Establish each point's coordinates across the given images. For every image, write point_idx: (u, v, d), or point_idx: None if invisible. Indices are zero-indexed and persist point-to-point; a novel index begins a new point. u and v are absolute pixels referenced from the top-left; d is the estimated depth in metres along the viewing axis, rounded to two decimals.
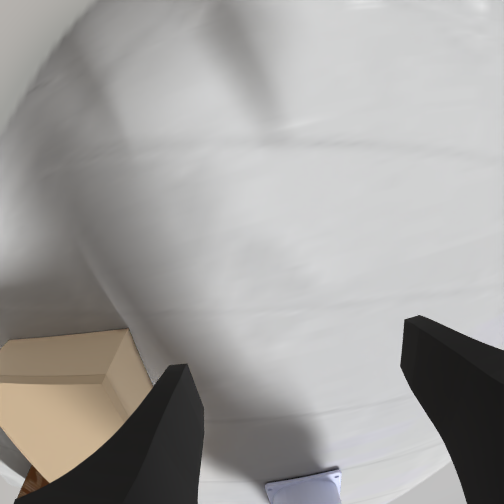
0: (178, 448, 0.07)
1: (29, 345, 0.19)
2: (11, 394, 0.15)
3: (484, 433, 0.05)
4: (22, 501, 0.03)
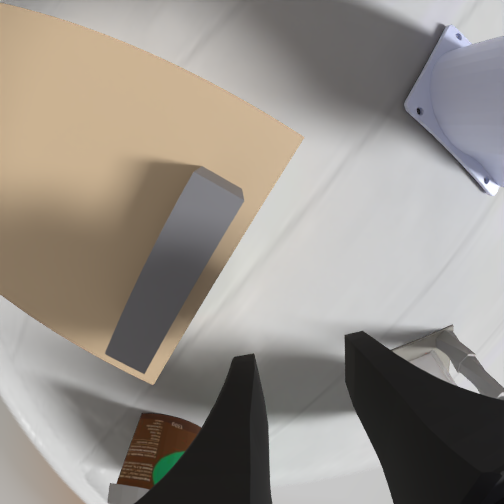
0: (259, 440, 0.07)
1: None
2: None
3: (410, 468, 0.05)
4: None
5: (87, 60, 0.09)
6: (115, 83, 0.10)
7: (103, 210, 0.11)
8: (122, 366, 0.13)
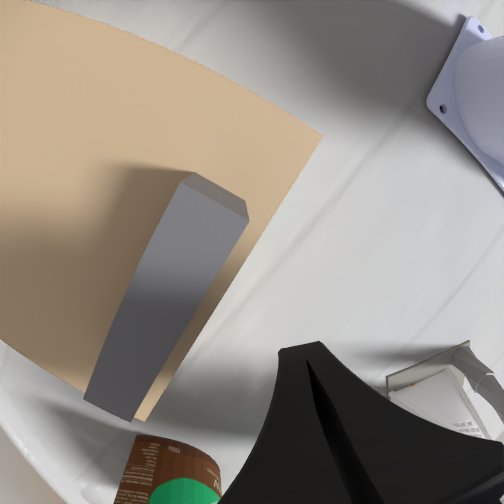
0: None
1: None
2: None
3: (349, 487, 0.05)
4: None
5: (58, 46, 0.07)
6: (89, 71, 0.07)
7: (76, 228, 0.09)
8: None
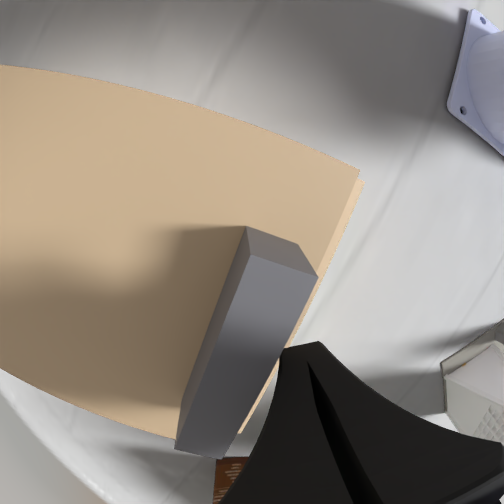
0: None
1: None
2: None
3: (348, 488, 0.05)
4: None
5: (72, 114, 0.08)
6: (114, 138, 0.08)
7: (135, 294, 0.10)
8: None
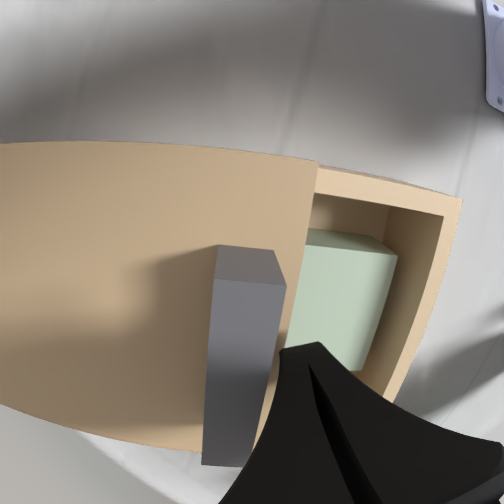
0: None
1: None
2: None
3: (348, 488, 0.05)
4: None
5: (36, 179, 0.08)
6: (78, 192, 0.09)
7: (136, 328, 0.10)
8: None
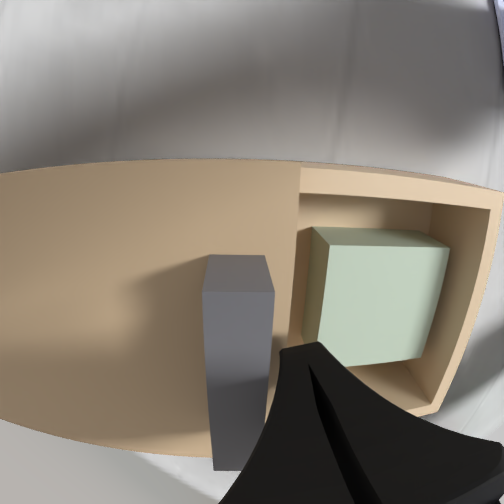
0: None
1: None
2: None
3: (348, 488, 0.05)
4: None
5: (28, 206, 0.09)
6: (69, 216, 0.09)
7: (138, 342, 0.10)
8: None
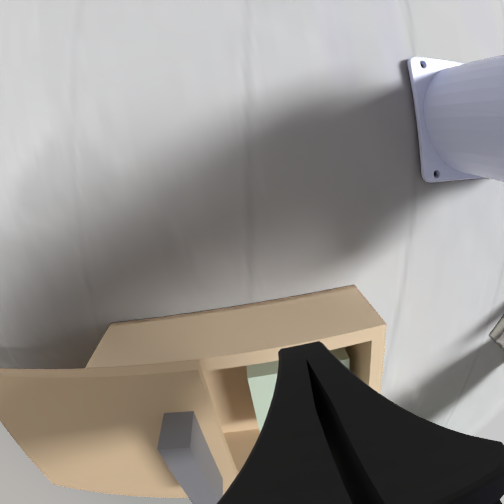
0: None
1: None
2: (33, 454, 0.16)
3: (349, 487, 0.05)
4: None
5: (58, 393, 0.14)
6: (83, 399, 0.14)
7: (142, 449, 0.16)
8: None
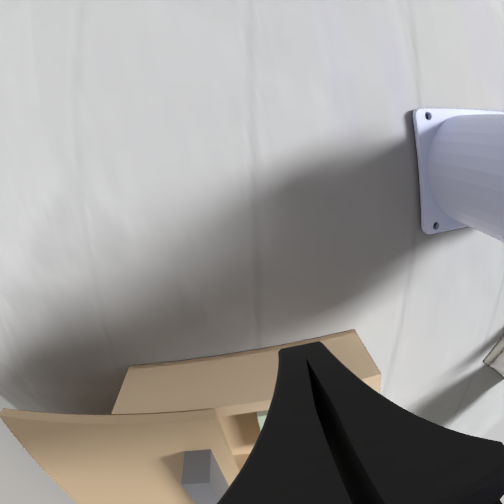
0: None
1: None
2: (60, 480, 0.18)
3: (349, 487, 0.05)
4: None
5: (87, 435, 0.16)
6: (111, 440, 0.16)
7: (164, 477, 0.17)
8: None
